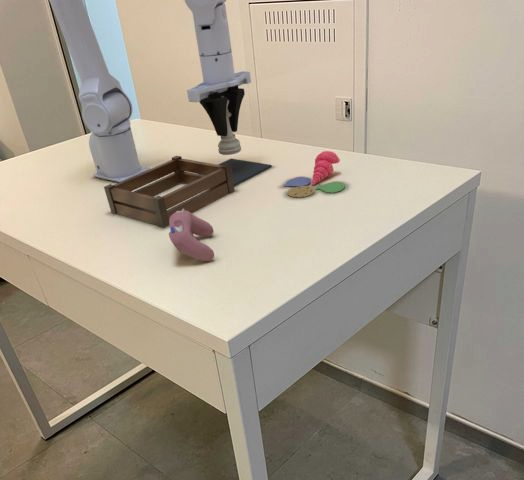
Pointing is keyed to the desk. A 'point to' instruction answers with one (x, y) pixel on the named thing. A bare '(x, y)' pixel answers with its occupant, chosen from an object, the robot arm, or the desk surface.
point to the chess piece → (229, 140)
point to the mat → (244, 169)
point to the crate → (155, 208)
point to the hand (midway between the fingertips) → (227, 133)
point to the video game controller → (190, 235)
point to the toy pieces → (317, 177)
